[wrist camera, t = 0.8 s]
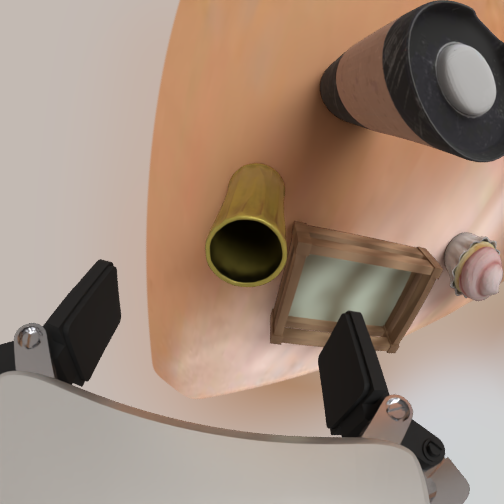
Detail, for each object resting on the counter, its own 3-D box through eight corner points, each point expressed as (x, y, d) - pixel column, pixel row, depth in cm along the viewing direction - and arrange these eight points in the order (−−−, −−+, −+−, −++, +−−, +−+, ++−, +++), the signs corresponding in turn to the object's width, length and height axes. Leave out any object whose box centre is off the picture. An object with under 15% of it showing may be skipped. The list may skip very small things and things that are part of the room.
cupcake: (456, 287, 35) (487, 329, 26) (424, 263, 33) (457, 309, 24) (490, 240, 30) (528, 276, 22) (461, 209, 29) (506, 244, 20)
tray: (425, 248, 32) (443, 269, 27) (385, 328, 39) (394, 353, 34) (294, 221, 32) (298, 241, 27) (270, 316, 39) (269, 343, 34)
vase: (218, 197, 31) (182, 264, 18) (248, 151, 28) (229, 188, 16) (263, 226, 32) (258, 307, 20) (295, 183, 30) (314, 243, 17)
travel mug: (331, 133, 27) (431, 183, 9) (306, 66, 23) (371, -5, 6) (394, 117, 25) (535, 152, 7) (371, 52, 22) (498, 6, 4)
